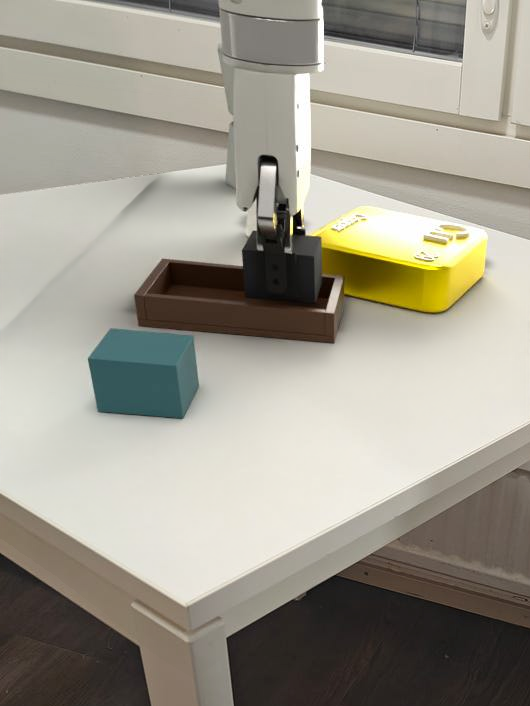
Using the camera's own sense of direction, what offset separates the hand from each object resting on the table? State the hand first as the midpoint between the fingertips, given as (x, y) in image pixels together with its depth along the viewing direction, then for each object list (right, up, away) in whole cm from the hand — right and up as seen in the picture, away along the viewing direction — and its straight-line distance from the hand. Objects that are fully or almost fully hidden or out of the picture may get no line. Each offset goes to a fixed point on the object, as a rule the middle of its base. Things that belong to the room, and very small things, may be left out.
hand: (283, 284), depth 78 cm
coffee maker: (-10, +25, +33) cm, 43 cm away
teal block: (-7, -13, -12) cm, 20 cm away
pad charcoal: (0, 0, 0) cm, 1 cm away
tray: (-4, -2, +2) cm, 5 cm away
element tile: (+9, +6, +13) cm, 16 cm away
